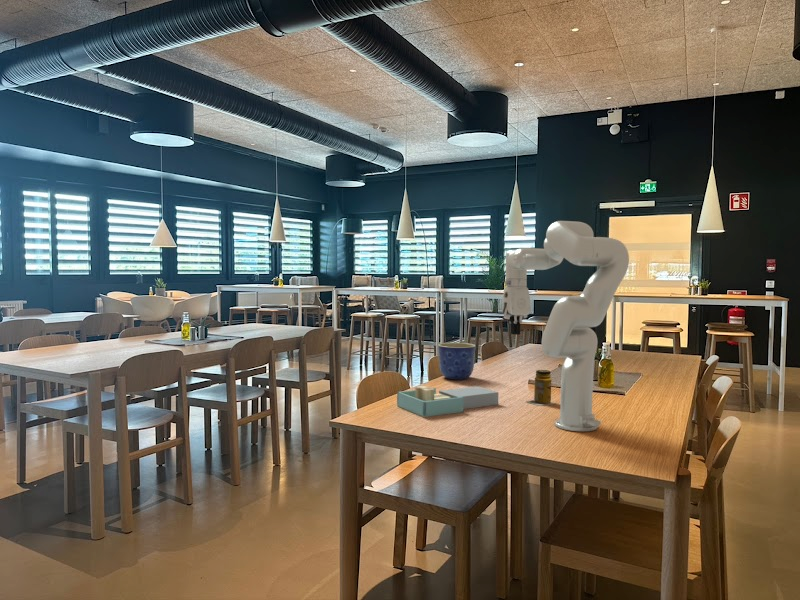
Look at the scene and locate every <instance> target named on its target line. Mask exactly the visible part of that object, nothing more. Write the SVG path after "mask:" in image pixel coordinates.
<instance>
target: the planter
mask: <svg viewBox="0 0 800 600" xmlns="http://www.w3.org/2000/svg"><path fill="white" fill-rule="evenodd" d="M437 345H438V346H437V350H438V351H437V352H438V363H439V364H438V366H439V370H440V373H441V375H442V376H443V377H444V378H446V379H449V380H459V381H460V380H461V381H462V380H466V379H468V378H470V377H471V375H472V374H473V372H474V368H475V356H476V345H475V344H473V343H468V342H467V343H466V342H442V343H438V344H437Z"/></svg>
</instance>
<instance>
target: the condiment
mask: <svg viewBox="0 0 800 600" xmlns="http://www.w3.org/2000/svg"><path fill="white" fill-rule="evenodd" d="M551 377H552V376H551V371H550V370H548V369H537V370H536V371H535V378H534V394H533V396H534V397H533V399H534V400H533V399H531V400H526V401H525V403H528V404H532V405H536V406H546V405H548V406H549V405H554V404H555V402H554V401H551V400H552V378H551Z"/></svg>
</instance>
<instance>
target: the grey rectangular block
mask: <svg viewBox="0 0 800 600" xmlns="http://www.w3.org/2000/svg"><path fill="white" fill-rule="evenodd" d="M438 394H443V395H445V396H448V397H451V398H457V397H463V410H467V409H473V408H474V409H476V408H480V407H481V408H482V407H487V406H497V405H499V391H496V390H492V389H488V388H485V387H482V386H469V387H462V388H461V387H460V388H453V389H443V390H438Z"/></svg>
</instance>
